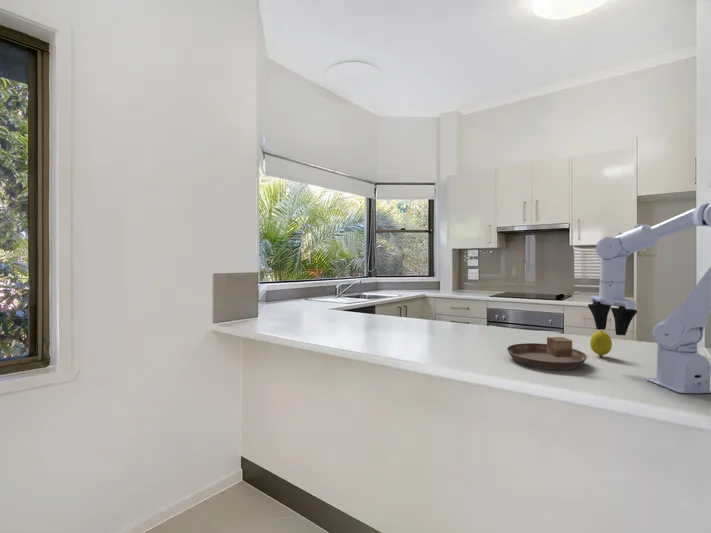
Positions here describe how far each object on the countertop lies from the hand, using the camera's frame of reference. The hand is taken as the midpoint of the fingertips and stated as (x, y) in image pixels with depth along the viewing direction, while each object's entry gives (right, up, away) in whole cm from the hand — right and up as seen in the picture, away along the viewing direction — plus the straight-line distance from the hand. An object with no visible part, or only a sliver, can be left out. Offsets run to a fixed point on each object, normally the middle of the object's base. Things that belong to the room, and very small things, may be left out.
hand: (610, 332), depth 105 cm
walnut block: (-13, -7, +2) cm, 15 cm away
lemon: (+5, -10, +13) cm, 17 cm away
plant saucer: (-14, -10, +7) cm, 19 cm away
